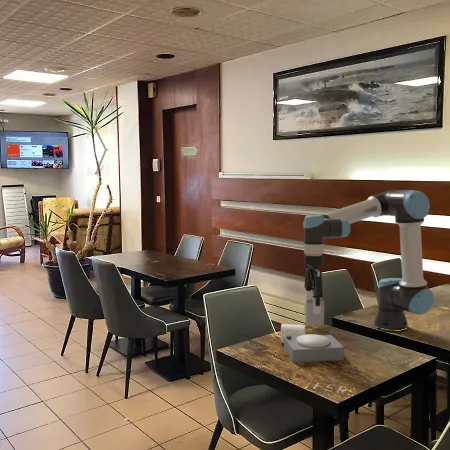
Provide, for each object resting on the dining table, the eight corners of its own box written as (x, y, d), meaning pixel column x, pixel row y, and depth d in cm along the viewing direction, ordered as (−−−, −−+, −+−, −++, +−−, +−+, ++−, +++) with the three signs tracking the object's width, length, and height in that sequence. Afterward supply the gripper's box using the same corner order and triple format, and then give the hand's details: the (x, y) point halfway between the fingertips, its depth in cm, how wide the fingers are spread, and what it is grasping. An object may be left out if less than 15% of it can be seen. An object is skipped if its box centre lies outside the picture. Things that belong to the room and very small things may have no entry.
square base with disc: (330, 346, 203) (331, 332, 203) (343, 359, 188) (343, 344, 188) (284, 348, 201) (284, 334, 201) (293, 362, 186) (293, 347, 186)
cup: (312, 327, 188) (312, 304, 187) (297, 320, 197) (298, 299, 196) (327, 324, 191) (327, 302, 190) (312, 318, 200) (312, 297, 199)
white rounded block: (304, 347, 203) (304, 328, 202) (280, 345, 205) (280, 327, 204) (305, 337, 215) (305, 320, 214) (282, 336, 217) (282, 319, 216)
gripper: (297, 250, 201) (296, 303, 204) (312, 259, 179) (311, 318, 182) (314, 249, 202) (314, 302, 204) (332, 258, 180) (331, 317, 182)
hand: (313, 310), depth 193 cm, fingers closed on cup, 10 cm apart
